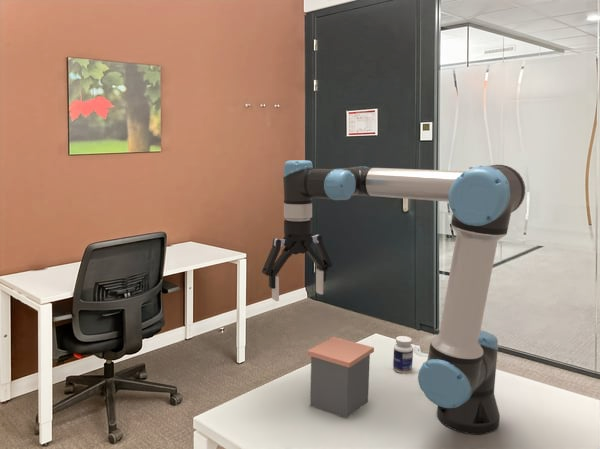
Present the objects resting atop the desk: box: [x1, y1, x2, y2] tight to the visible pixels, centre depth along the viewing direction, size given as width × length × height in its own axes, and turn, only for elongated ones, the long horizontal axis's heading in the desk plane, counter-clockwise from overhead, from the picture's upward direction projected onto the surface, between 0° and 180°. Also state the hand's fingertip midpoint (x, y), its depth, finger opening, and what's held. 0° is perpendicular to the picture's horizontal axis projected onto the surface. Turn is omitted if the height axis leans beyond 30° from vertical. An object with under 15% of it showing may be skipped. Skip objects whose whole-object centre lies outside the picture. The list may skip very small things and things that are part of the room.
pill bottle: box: [392, 335, 414, 374], centre depth 170 cm, size 6×6×10 cm
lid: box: [306, 336, 375, 367], centre depth 147 cm, size 13×13×2 cm
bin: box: [309, 354, 371, 419], centre depth 148 cm, size 11×11×14 cm
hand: (298, 296), depth 152 cm, fingers open, 13 cm apart
